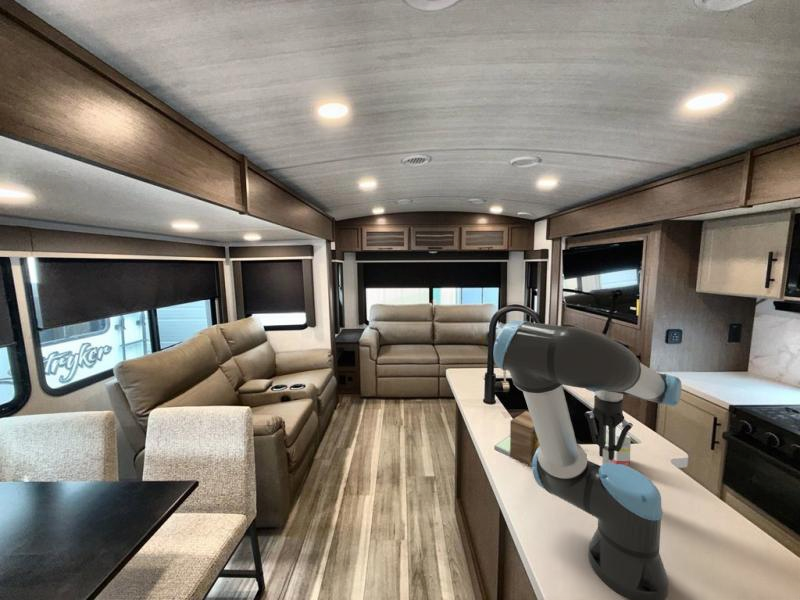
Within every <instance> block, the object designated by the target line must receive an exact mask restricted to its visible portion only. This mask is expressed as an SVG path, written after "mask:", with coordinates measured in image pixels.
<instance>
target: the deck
mask: <svg viewBox="0 0 800 600" xmlns="http://www.w3.org/2000/svg"><path fill="white" fill-rule="evenodd" d="M493 446H494V447H493V449H494V450H495V451H497V452H499V453H501V454H503V455H505V456H508V457H510V434H509V435H508V436H506V437H505V438H503V439H502V440H501V441H499V442H498V443H496V444H495V445H493ZM533 458H534V457H533ZM533 458H532V461H531V463H530V466H529V467H531V468H532V467H533V466H534V464H533Z"/></svg>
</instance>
